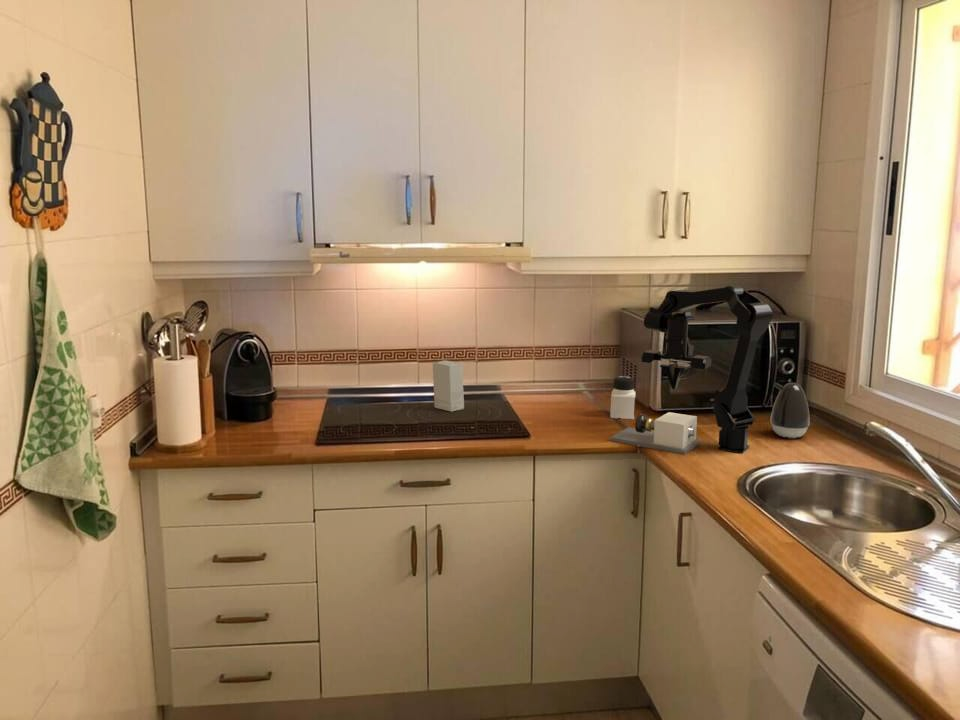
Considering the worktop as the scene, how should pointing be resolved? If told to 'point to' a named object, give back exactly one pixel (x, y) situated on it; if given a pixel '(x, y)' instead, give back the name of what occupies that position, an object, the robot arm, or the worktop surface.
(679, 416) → the bearing block
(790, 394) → the dark grey egg shape
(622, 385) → the medicine bottle
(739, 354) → the robot arm
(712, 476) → the worktop surface
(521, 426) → the worktop surface
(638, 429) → the metal shaft
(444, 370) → the skincare box
